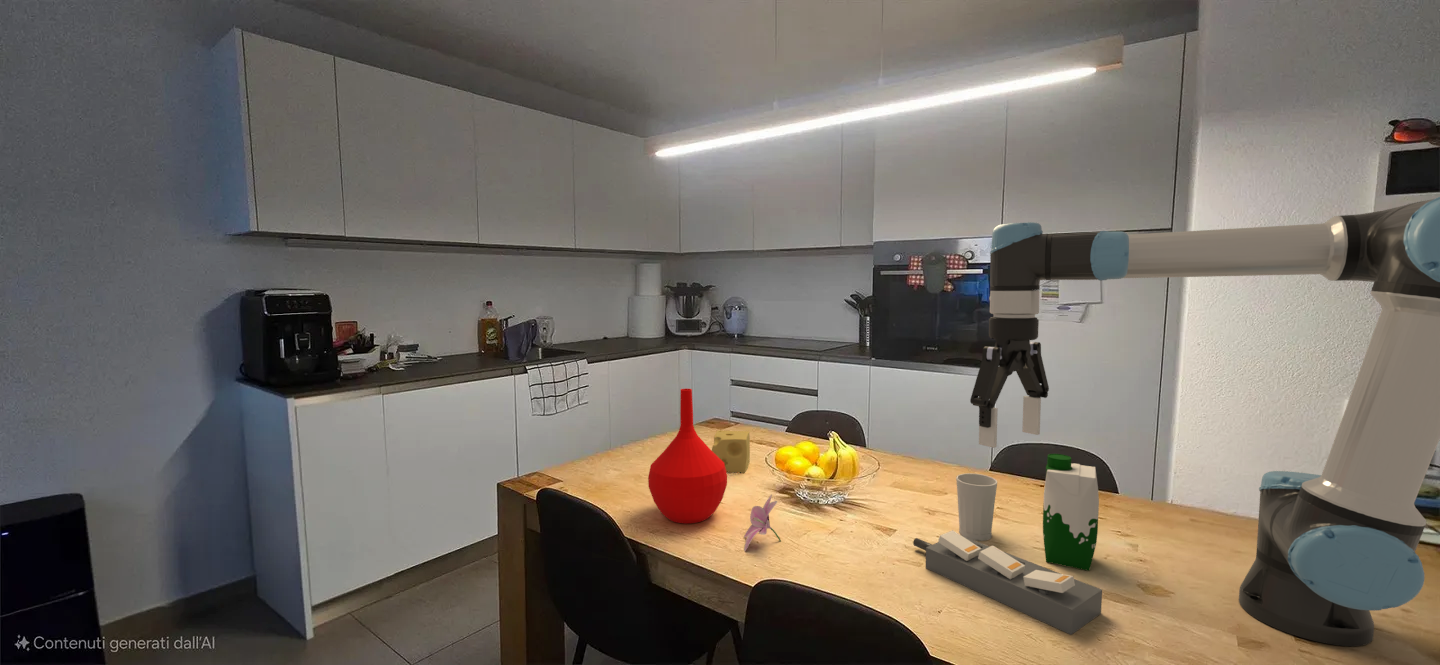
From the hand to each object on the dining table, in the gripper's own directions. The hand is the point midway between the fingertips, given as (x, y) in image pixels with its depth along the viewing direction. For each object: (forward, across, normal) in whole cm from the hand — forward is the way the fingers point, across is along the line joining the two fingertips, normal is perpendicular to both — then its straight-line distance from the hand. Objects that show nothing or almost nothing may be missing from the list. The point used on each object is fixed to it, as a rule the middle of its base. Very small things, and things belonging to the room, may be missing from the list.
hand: (1010, 439), depth 101 cm
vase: (+27, +29, -60) cm, 72 cm away
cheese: (+27, 0, -84) cm, 88 cm away
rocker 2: (+21, +2, 0) cm, 21 cm away
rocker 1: (+21, +2, -8) cm, 22 cm away
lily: (+27, +24, -39) cm, 53 cm away
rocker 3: (+21, +2, +8) cm, 23 cm away
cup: (+27, -15, -16) cm, 35 cm away
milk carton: (+27, -20, +1) cm, 33 cm away
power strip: (+27, 0, -3) cm, 27 cm away
